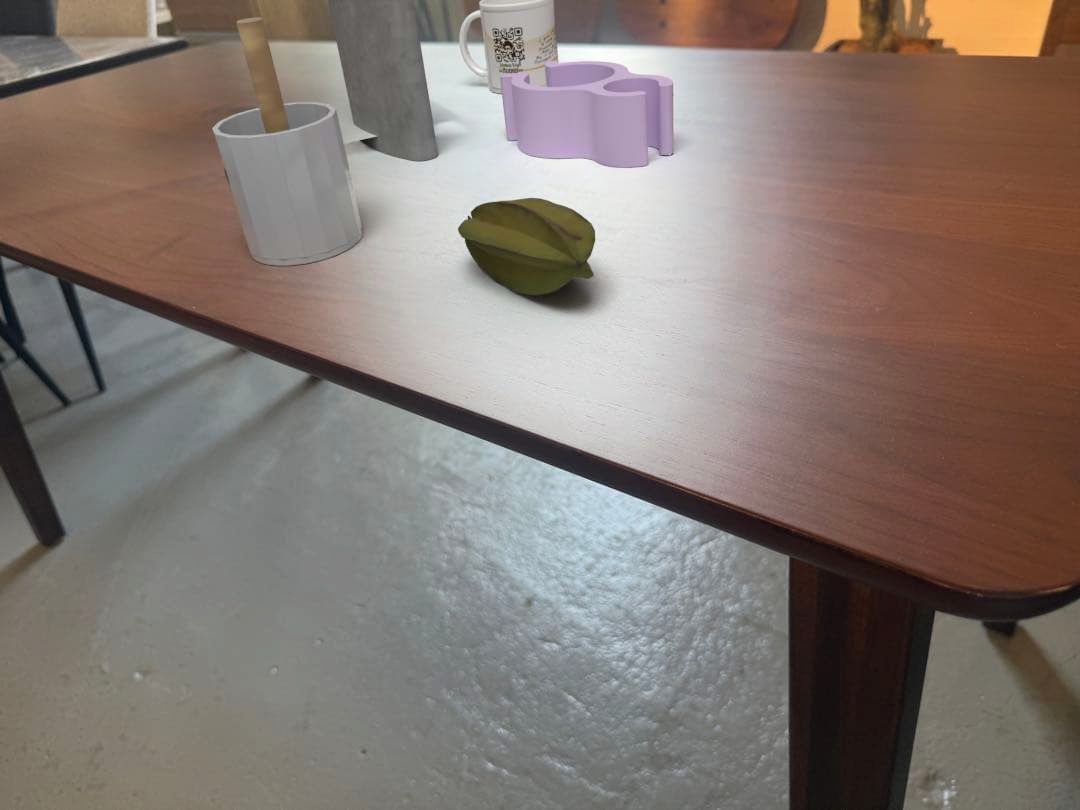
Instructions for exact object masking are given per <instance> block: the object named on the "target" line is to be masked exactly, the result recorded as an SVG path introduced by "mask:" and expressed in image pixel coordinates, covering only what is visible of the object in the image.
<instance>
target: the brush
mask: <svg viewBox="0 0 1080 810" xmlns="http://www.w3.org/2000/svg"><path fill="white" fill-rule="evenodd" d="M235 23H236V27H237V30H238V35H239V37H240V42H241V46H242V50H243V54H244V57H245V61H246V65H247V69H248V72H249V76H250V79H251V83H252V87H253V91H254V94H255V98H256V101H257V102H256V103H257V105H258V108H259V109H260V113H261V117H262V121H263V124H264V128H265V132H266V134H269V133H276V132H281V131H285V130H290V127H289V123H288V119H287V115H286V111H285V107H284V104H285V102H284V100H283V99H284V98H283V96H282V91H281V87H280V82H279V80H278V76H277V75H278V74H277V72H276V68H275V64H274V59H273V56H272V51H271V48H270V47H271V46H270V43H269V40H268V35H267V31H266V27H265V24H264V20H263V17H258V16H257V17H255V16H254V17H247V18H242V19H238V20H237V21H236V22H235Z"/></svg>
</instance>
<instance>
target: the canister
mask: <svg viewBox="0 0 1080 810" xmlns="http://www.w3.org/2000/svg"><path fill="white" fill-rule="evenodd" d="M284 107H285V111H286V115H287V119H288V123H289V127H290V130H285V131H281V132H276V133H269V134H266V132H265V128H264V124H263V121H262V117H261V113H260V109H259V107H256V108H252V109H248V110H244V111H242V112H238V113H235V114H232V115H230V116H228V117H226V118H224V119H222V120H219V121H218V122H217V123H216V124H215V125H214V126H212V128H211V130H212V134H213V137H214V140H215V144H216V147H217V150H218V153H219V158H220V161H221V163H222V167H223V171H224V173H225V177H226V180H227V184H228V187H229V190H230V194H231V197H232V200H233V203H234V207H235V210H236V213H237V214H236V215H237V217H238V220H239V223H240V227H241V230H242V233H243V236H244V241H245V243H246V246H247V249H248V251H249V254H250V257H251V258H252V260H254V261H256V262H257V263H259V264H263V265H268V266H275V267H276V266H277V267H289V266H298V265H299V266H300V265H307V264H312V263H316V262H319V261H323V260H326V259H327V260H328V259H330V258H333V257H335V256H337V255H340V254H343V253H344V252H346V251H348V250H350V249H351V248H353V247H354V246H355V245H357V244H358V243H359V242H360V241H361V240H362V236H363V230H362V225H363V224H362V221H361V216H360V211H359V207H358V202H357V197H356V193H355V187H354V183H353V180H352V175H351V171H350V166H349V162H348V157H347V151H346V148H345V143H344V139H343V133H342V130H341V129H342V128H341V125H340V121H339V116H338V111H337V109H336V108H335V107H334V106H333V105H332V104H330V103H324V102H320V101H296V102H295V101H294V102H288V103H285V102H284Z"/></svg>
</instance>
